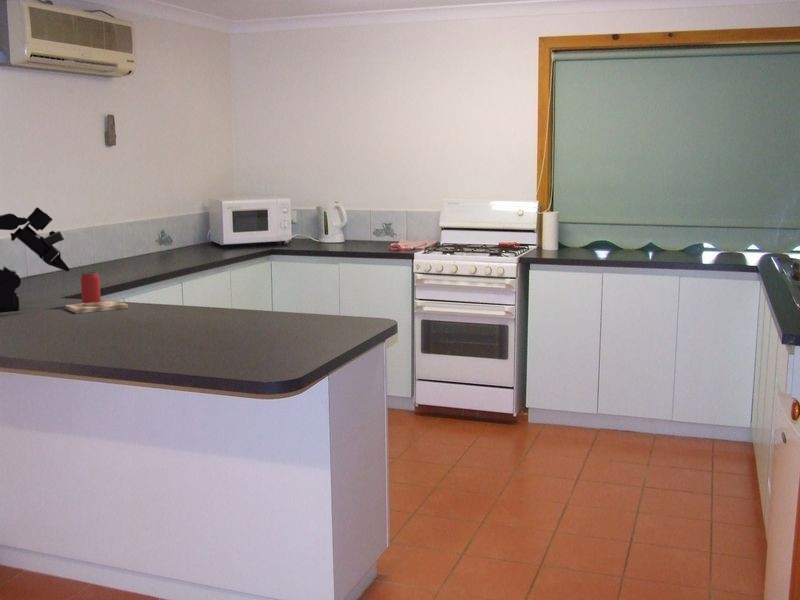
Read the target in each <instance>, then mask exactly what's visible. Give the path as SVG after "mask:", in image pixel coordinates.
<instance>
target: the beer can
mask: <svg viewBox="0 0 800 600" xmlns="http://www.w3.org/2000/svg"><path fill="white" fill-rule="evenodd" d="M100 281H101V280H100V275H99V274H98V271H85V272H81V276H80V289H81V292H80V293H81V304H82V303H91V302H102V299H101V298H102V297H101V282H100Z"/></svg>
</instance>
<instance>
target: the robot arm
mask: <svg viewBox="0 0 800 600" xmlns="http://www.w3.org/2000/svg"><path fill="white" fill-rule="evenodd" d="M53 220H54V219H53V218H52V217H51V216H49V214H47V213H46V212H44V211H43V210H42V209H40V208H39V207H37V206H36V207H35V208H34V209H33V211H32V212H31V213H30V214H29V215H28V216H27V217H24V216H23V217H19V216H17V215H16V214H14V213H11V212H10V213H9V212H7V213H4V214H0V230H1V231H14V230H15V231H14V232H9V234H10V241H12V242H14V241H15V240H16V239H17V240H19V241H20V242H21V243H22V244H24V245H25V246H26V247H28V249H30V250H31V251H32V252H33V253H34V254H35V255H37V256H38V258H40V260H42V261H43V262H44V263H45V264H47V265H48V266H51V267H54V268H57V269H59V270H62V271H65V272H69V271H71V269H70V268H69V266H68V265H67V264H66V262H64V260H63V259H62V258H61V256H62V255H61V254H62V253H61V251H60V250H59V249H58V248H57V247H54V245H55V244H57V243H59V242H62V241H65V237H64V236H63V234H62V232H61V231H56V232H55V231H54V230H51V231H49V232H48V235H47V236H46V237H43V236H42V235H40V234H39V233H37V232H38V231H44V229H46V227H48V226H49V224H50V223H51V222H52V221H53ZM19 226H20V227H19ZM21 226H23V227H22V228H21ZM31 227H32V228H33V229H34V230H35V231H34V230H33V229H32V228H31ZM36 231H37V232H36ZM21 283H22V281H21V277H20V276H19V274H18V273H17V272H16V270H13V269H9V268H8V267H7V266H6V265H3V268H0V313H3V312H13V311H20V298H19V296H18V295H17V292H16V289H18V288H19V287H20V286H21Z"/></svg>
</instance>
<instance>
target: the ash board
mask: <svg viewBox="0 0 800 600" xmlns="http://www.w3.org/2000/svg"><path fill="white" fill-rule="evenodd" d="M64 306H65V310H66V309H67V311H69V312H71V313H73V314H85V313H87V314H88V313H96V312H105V311H114V310H115V311H117V310H116V309H118V310H126V309H125V308H129V305H128V303H124V302H121V301H118V300H108V301H107V300H105V301H101V302H91V303H82V302H81V303H73V304H65V305H64Z"/></svg>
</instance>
